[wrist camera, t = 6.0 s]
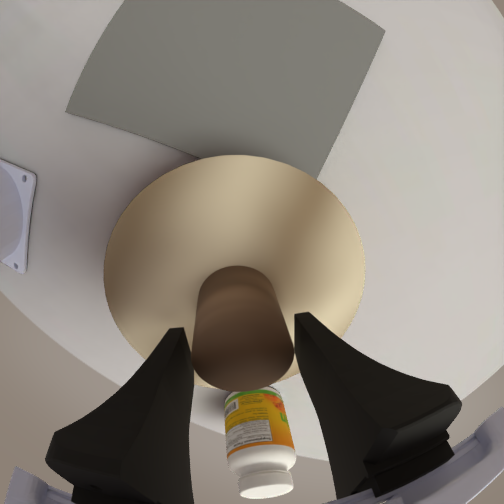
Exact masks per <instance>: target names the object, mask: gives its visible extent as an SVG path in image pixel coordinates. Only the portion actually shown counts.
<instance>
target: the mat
mask: <svg viewBox="0 0 504 504" xmlns="http://www.w3.org/2000/svg"><path fill="white" fill-rule="evenodd" d="M384 33H385V30H384V29H382V28H381V27H380V26H378V25H377V24H375V23H374V22H372V21H371V20H370V19H368V18H367V17H365V16H363V15H362V14H360V13H359V12H357V11H356V10H354V9H352V8H351V7H349V6H347V5H346V4H344V3H342V2H340V1H339V0H125V1H124V2H123V4H122V5H121V6H120V8H119V9H118V11H117V12H116V14H115V15H114V17H113V18H112V20H111V21H110V23H109V24H108V26H107V27H106V29H105V31H104V32H103V34H102V36H101V37H100V39H99V41H98V43H97V44H96V46H95V48H94V50H93V52H92V54H91V55H90V57H89V59H88V61H87V63H86V65H85V67H84V69H83V71H82V73H81V76H80V78H79V80H78V82H77V84H76V87H75V89H74V91H73V94H72V96H71V98H70V101H69V103H68V106H67V109H66V111H65V112H67V113H70V114H74V115H77V116H81V117H84V118H88V119H91V120H94V121H97V122H101V123H104V124H107V125H110V126H113V127H116V128H119V129H122V130H125V131H128V132H131V133H134V134H137V135H140V136H143V137H146V138H148V139H151V140H154V141H157V142H159V143H162V144H165V145H167V146H170V147H173V148H175V149H178V150H181V151H183V152H186V153H188V154H191V155H193V156H196V157H198V158H201V159H204V158H209V157H215V156H222V155H249V156H256V157H264V158H268V159H271V160H275V161H278V162H282V163H285V164H288V165H290V166H292V167H295V168H297V169H299V170H301V171H303V172H305V173H307V174H308V175H310V176H311V177H313V178H315V179H317V177H318V175H319V173H320V171H321V169H322V167H323V165H324V163H325V161H326V159H327V157H328V155H329V153H330V151H331V149H332V147H333V144H334V142H335V140H336V138H337V136H338V134H339V132H340V130H341V128H342V126H343V124H344V121H345V119H346V117H347V115H348V113H349V111H350V109H351V107H352V104H353V102H354V100H355V98H356V96H357V94H358V92H359V89H360V87H361V85H362V83H363V81H364V78H365V76H366V74H367V72H368V70H369V67H370V65H371V63H372V61H373V58H374V56H375V54H376V52H377V49H378V47H379V45H380V43H381V40H382V38H383V36H384Z"/></svg>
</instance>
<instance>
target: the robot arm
mask: <svg viewBox="0 0 504 504" xmlns="http://www.w3.org/2000/svg"><path fill="white" fill-rule="evenodd" d="M25 176H26V177H27V180H25ZM35 186H36V176H35V174H34V173H32V172H30V171H27V170H25V169H23V168H20V167H18V166H15V165H13V164H11V163H8V162H6V161H4V160H1V159H0V262H2V263H4V264H6V265H7V266H9V267H10V268H12V269H14V270H15V271H17V272H19V273H20V274H24V273H25V272H26V269H27V248H28V235H29V225H30V217H31V209H32V203H33V197H34V191H35ZM17 265H18V266H17ZM294 352H295V356H296V360H297V363H298V367H299V371H300V373H301V376H302V378H303V381H304V383H305V386H306V388H307V391H308V393H309V395H310V398H311V400H312V403H313V405H314V408H315V410H316V413H317V416H318V419H319V422H320V426H321V429H322V433H323V437H324V441H325V445H326V449H327V453H328V457H329V462H330V466H331V471H332V475H333V480H334V486H335V491H336V497H337V500H334V501H331V502H327V503H323V504H380V503H382V502H385V501H386V502H385V503H383V504H467V503H468V502H469V501H470V500H472V499H473V498H474V497H475V496H476V495H478V494H479V493H480V492H481V491H482V490H483V489H484V488H486V487H487V486H488V485H489V484H490V483H491V482H492V481H493V480H494V479H495V478H496V477H497V476H498V475H499V474H500V473H501V472H502V471H503V470H504V408H503V407H500V408H499V409H498V410H496V412H494V413H493V414H492V415H491V416H489V417H488V418H487V419H486V420H484V421H483V422H482V423H481V424H480V425H479V427H478V428H477V429H476V430H475V432H474V433H473V434H471V435H470V436H469V437H467V438H466V439H464V440H463V441H461V442H460V443H459V444H457V445H456V446H454V447H452V448H451V447H450V445H449V443H448V442H447V440H448V439H449V434H448V432H447V431H446V429H447V428H448V427H449V426H450V424H451V423H452V422H453V421H454V419H455V418H456V417H457V415H458V414H459V412H460V410H461V406H462V402H461V401H460V399H459V398H458V397H457V395H456V394H455V393H454V391H453V390H452V389H451V387H450V386H449V385H446V384H441V383H436V382H431V381H426V380H422V379H419V378H416V377H413V376H409V375H407V374H404V373H401V372H398V371H396V370H394V369H391V368H389V367H387V366H385V365H382V364H380V363H378V362H376V361H375V360H373V359H371V358H369V357H367V356H366V355H364V354H362V353H361V352H359V351H357V350H356V349H355V348H353V347H352V346H350V345H349V344H347V343H346V342H345V341H343V340H342V339H341V338H339V337H338V336H337V335H336V334H334V333H333V332H332V331H331V330H329V329H328V328H327V327H326V326H325V325H324V324H322V323H321V322H320V321H319V320H318V319H317V318H316V317H315V316H313V315H312V314H311V313H310V312H303V313H297V314H294ZM193 390H194V368H193V366H192V362H191V350H190V347H189V344H188V340H187V337H186V333H185V330H184V327H179V328H169V330H168V331H167V332H166V333H165V335H164V336H163V338H162V339H161V340H160V342H159V343H158V345H157V346H156V347H155V349H154V350H153V351H152V353H151V354H150V355H149V357H148V358H147V359H146V361H145V362H144V363H143V364H142V366H141V367H140V368H139V369H138V370H137V371H136V373H135V374H134V375H133V376H132V377H131V378H130V379H129V380H128V381H127V383H126V384H125V385H123V386H122V387H121V388H120V389H119V390H118V391H117V392H116V393H115V394H114V395H113V396H111V397H110V398H109V399H108V400H106V401H105V402H104V403H103V404H102V405H100V406H99V407H98V408H96V409H95V410H93V411H92V412H90V413H89V414H87V415H86V416H84V417H83V418H81V419H79V420H78V421H76V422H74V423H72V424H70V425H68V426H66V427H64V428H62V429H60V430H58V431H56V432H55V433H54V435H53V438H52V441H51V443H50V446H49V449H48V452H47V455H46V458H45V461H46V463H47V464H48V466H49V467H50V468H51V469H52V470H54V471H55V472H56V473H57V474H59V475H60V476H61V477H63V478H64V479H66V480H67V481H68V482H70V483H71V484H73V485H74V488H73V493H72V494H70V493H67V492H65V491H62V490H59V489H57V488H54V487H52V486H49V485H48V484H47V483H46V482H44V481H43V480H41V479H40V478H38V477H37V476H35V475H33V474H31V473H29V472H27V471H25V470H23V469H21V468H19V467H17V466H16V467H15V469H14V471H13V475H12V478H11V481H10V484H9V488H8V492H7V495H6V499H5V503H4V504H194V499H193V493H192V484H191V474H190V458H189V423H190V415H191V407H192V398H193Z"/></svg>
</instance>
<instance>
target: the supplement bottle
mask: <svg viewBox="0 0 504 504" xmlns="http://www.w3.org/2000/svg"><path fill="white" fill-rule="evenodd" d="M224 414H225V432H226V448H227V461H228V466H229V469H230V470H231V471H232V472H233V473H234V474H236V475H238V476H241V477H240V478H239V480H238V481H239V482H238V486H239V493H240V495H241V496H242V497H245V498H251V499H260V498H270V497H275V496H279V495H283V494H286V493H288V492H290V491H291V490H292V489H293V487H294V486H293V481H292V477H291V473H290V472H289V471H287V470H288V469H290V468H291V467H292V466H293V465H294V463H295V461H296V454H295V449H294V445H293V441H292V436H291V432H290V428H289V424H288V420H287V416H286V412H285V408H284V404H283V400H282V397H281V395H280V394H279V392H278V391H276V390H275V389H273V388H270V387H264V388H261V389H258V390H254V391H247V392H232V393H231V394H230V395H229V396H228V397H227V398H226V400H225V404H224Z"/></svg>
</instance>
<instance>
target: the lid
mask: <svg viewBox="0 0 504 504" xmlns="http://www.w3.org/2000/svg"><path fill="white" fill-rule="evenodd" d="M364 282H365V257H364V251H363V246H362V242H361V238H360V236H359V233H358V231H357V228H356V226H355V223H354V222H353V220H352V218H351V216H350V215H349V213H348V211H347V210H346V208H345V207H344V206H343V204H342V203H341V202H340V201H339V200H338V198H337V197H336V196H335V195H334V194H333V193H332V192H331V191H330V190H329V189H327V188H326V187H325V186H324V185H323V184H322V183H321V182H319V181H318V180H316V179H315V178H313V177H311V176H310V175H308V174H307V173H305V172H303V171H301V170H299V169H297V168H295V167H292V166H290V165H288V164H285V163H282V162H278V161H275V160H271V159H268V158H264V157H256V156H249V155H222V156H215V157H209V158H204V159H200V160H197V161H194V162H191V163H188V164H185V165H182V166H180V167H178V168H176V169H174V170H172V171H170V172H168V173H166V174H164V175H162V176H161V177H159V178H158V179H157V180H155V181H154V182H152V183H151V184H150V185H148V186H147V187H146V188H145V189H143V190H142V191H141V192H140V193H139V194H138V195H137V196H136V197H135V198H134V199H133V200H132V201H131V203H130V204H129V205H128V207H127V208H126V209H125V211H124V212H123V213H122V215H121V216H120V218H119V220H118V222H117V224H116V225H115V227H114V229H113V231H112V234H111V237H110V240H109V243H108V246H107V250H106V255H105V261H104V287H105V294H106V298H107V302H108V306H109V309H110V311H111V314H112V316H113V318H114V321H115V323H116V325H117V326H118V328H119V330H120V331H121V333H122V335H123V336H124V337H125V339H126V340H127V341H128V342H129V344H130V345H131V346H132V347H133V348H134V349H135V350H136V351H137V352H138V353H139V354H140V355H141V356H142V357H143V358H144V359H147V358H148V357H149V355H150V354H151V353H152V351H153V350H154V349H155V347H156V346H157V345H158V343H159V342H160V340H161V339H162V338H163V336H164V335H165V333H166V332H167V331H168V330H169V328H179V327H184V330H185V333H186V337H187V340H188V344H189V347H190V350H191V362H192V366H193V368H194V384H195V385H199V386H203V387H209V388H216V389H222V390H226V391H233V392H247V391H254V390H258V389H261V388H264V387H267V386H269V385H271V384H273V383H276V382H279V381H281V380H284V379H287V378H289V377H291V376H293V375H296V374H298V373H300V371H299V367H298V363H297V360H296V356H295V352H294V314H297V313H303V312H310V313H311V314H312V315H313V316H315V317H316V318H317V319H318V320H319V321H320V322H321V323H322V324H324V325H325V326H326V327H327V328H328V329H329V330H331V331H332V332H333V333H334V334H336V335H337V336H338V337H339V338H341V337H342V336H343V335H344V333H345V332H346V330H347V329H348V327H349V326H350V324H351V322H352V320H353V318H354V316H355V314H356V312H357V309H358V307H359V304H360V301H361V298H362V293H363V288H364Z"/></svg>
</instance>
